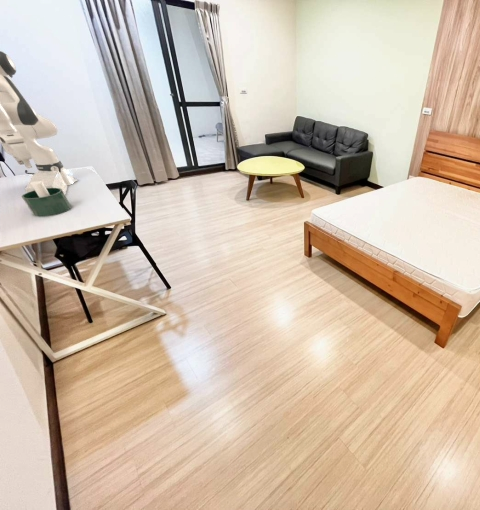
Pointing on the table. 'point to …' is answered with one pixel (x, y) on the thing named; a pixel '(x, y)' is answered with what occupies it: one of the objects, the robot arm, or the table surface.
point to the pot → (47, 202)
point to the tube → (40, 189)
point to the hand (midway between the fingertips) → (25, 166)
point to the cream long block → (48, 180)
